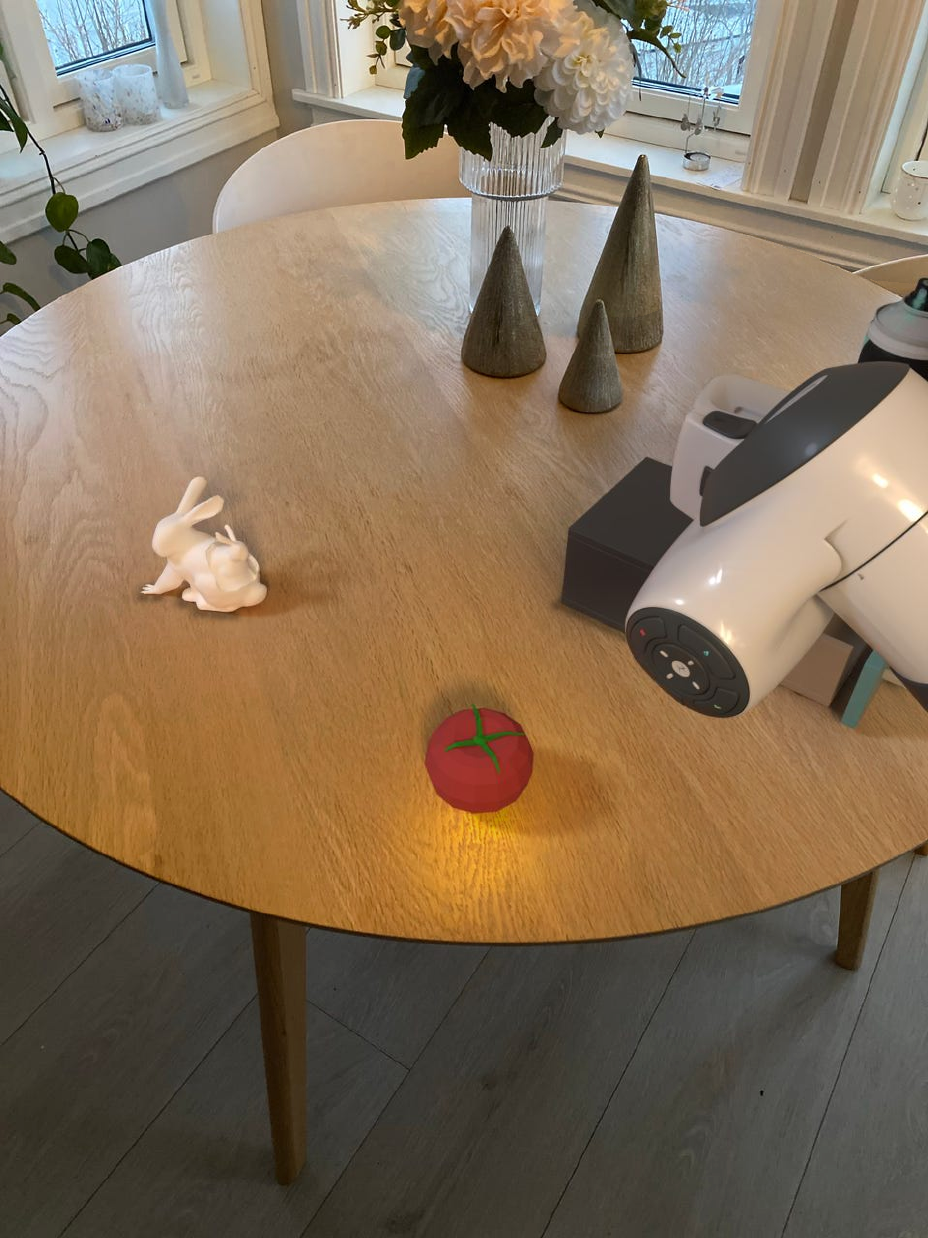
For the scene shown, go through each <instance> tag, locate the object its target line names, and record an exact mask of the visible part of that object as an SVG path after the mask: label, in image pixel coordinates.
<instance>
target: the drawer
mask: <svg viewBox="0 0 928 1238" xmlns="http://www.w3.org/2000/svg"><path fill="white" fill-rule="evenodd" d="M867 646H869V645H868V644H867V643H866V642H865V641H864V640H863V639H862V638H861V637H860V636H859V635H858V634H857V633H856V632H855V631H854V630H853V629H852V628H851V627H850V626H849V625H848V624H847V623H846V622H845V621H844V620H842V619H841V618H840V617H839V616H838V615H837V614H836V613H834V615H833V617H832V619H831V621H830V622H829V624H828V625H827V627H826V628H825V629H824V631H823V632H822V634H821V635H820V636H819V638H818V639H817V641H816V642H815V643H814V644H813V646H812V647H811V648H810V650H809V651H808V652H807V653H806V655H805V656H804V657H803V658H802V659H801V661H800V662H799V663H798V664H797V665H796V666H795V667H794V669H793V670H792V671H791V672H790V673H789V674H788V675H787V676H786V677H785V678H784V679H783V680H782V681H781V682H780V683H779V684H778V685H780V686H782V687H784V688H786V689H789V690H791V691H793V692H795V693H797V694H800V695H801V696H804V697H806V698H808V699H809V700H813V701H814V702H816V703H819V704H821V705H823V706H825V707H830V705H831V703H832V702H833V700H834V699H835V697H836V696H837V694H838V693H839V691H840V689H841V688H842V686H843V684H844V683H845V681H846V680H847V678H848V677H849V675H850V674H851V672H852V670H853V669H854V668H855V665H856V664H857V662H858V661H859V659H860V657H861V656H862V654H863V653H864V651H865V650H866V648H867ZM861 669H862V670H861V672H860V674H859V677H858V679H857V681H856V683H855V686H854V688H853V691H852V693H851V696H850V698H849V700H848V702H847V704H846V707H845V709H844V712H843V714H842V716H841V719H840V724H842V725H844V726H846V727H848V728H850V729H853V730H856V728H857V726H858V724H859V723H860V721H861V720H862V718H863V717H864V714H865V713H866V711H867V710H868V709H869V706H870V704H871V703H872V701H873V700H874V697H875V696H876V694H877V692H878V691H879V690H880V687H881V686H882V684H883V683H884V681H885V680H886V681H888V682H890V683H892V684H894V685H897V686H899V687H901V688H904V689H905V690H907V688H906V687H905V686H904V685H903V684H902V683H901V682H900V680H899V679H898V678H897V677H896V676H895V675H894V673H893V672H892V670H891V669H890V666H889V664H888V663H887V662H886V661H885V660H884V659H883V658H882V657H881V656H880V655H879V654H878V653H876V652H875V651H874V650H873V649H872V651H871V653H870V655H869V656H868V657H867V659H866V661H865V663H864V665H863V667H862V668H861Z"/></svg>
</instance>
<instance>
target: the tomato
mask: <svg viewBox="0 0 928 1238" xmlns="http://www.w3.org/2000/svg"><path fill="white" fill-rule="evenodd" d="M471 706H472V708H465V709H461V710H459V711H457V712H455V713H453V714H451V715H449V716H447V717H445V718H444V719H443V720H442V721H441V722H440V724H439V725H438V726H437V727H436V728H435V730H434V731H433V732H432V734H431V736H430V738H429V741H428V743H427V746H426V747H427V748H426V753H425V760H424V766H425V769H426V771H427V774H428V777H429V779H430V782H431V784H432V787H433V789H434V791H435V794H436V795H437V796H438V797H439V798H441V800H443V801H444V802H445V803H446V804H448V805H449V806H450V807H451V808H452V809H457V810H460V811H464V812H468V813H471V814H473V815H477V814H486V813H496V812H499V811H501V810H503V809H505V808H507V807H508V806H510V805H512V804H514V803H516V802H517V801H518V800H519V798H520V796H521V795H522V794H523V792H524V791H525V789H526V788H527V786H528V784H529V782H530V779H531V777H532V776H533V773H534V772H533V770H534V756H535V753H534V750H533V747H532V744H531V742H530V740H529V738H528V736H527V734H526V732H525V730H524V729H523V727H522V724H521V723H519V722H518V721H516V720H515V719H514V718H512V717H511V716H510V715H508V714H507V713H506V712H503V711H499V710H495V709H491V708H487V707H476V704H475V703H474V702H473V703H471Z"/></svg>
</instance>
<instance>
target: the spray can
mask: <svg viewBox="0 0 928 1238" xmlns="http://www.w3.org/2000/svg"><path fill="white" fill-rule="evenodd" d="M877 361H889V362H899V363H904V364H908V365H909V367H910V368H911V369H912V370H914V371H915V372H916V373H918V374H919V375H920V376H921V377H922V378H924V379H925V380H926V381H927V382H928V277H920V278H919V279H918V281H917V284H916V286H915V289H914V290H912V291H911V292H909V293H908V294H905V295H903V296H902V298H901V300H900V301H895V302H889V303H886V304H883V305H881V306H880V307H878V308H877V309H876V310H875V312H874V315H873V319H872V320H871V321H870V322H869V325H868V327H867V331H866V333H865V337H864V341H863V343H862V347H861V350H860V352H859V357H858V359H857V363H864V362H877Z"/></svg>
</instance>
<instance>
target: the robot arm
mask: <svg viewBox="0 0 928 1238" xmlns="http://www.w3.org/2000/svg"><path fill="white" fill-rule="evenodd" d="M676 442H677V443H676V445H675V451H674V455H673V459H672V460H673V461H672V465H671V466H672V474H671V485H670V501H671V502H672V504H673V505H674V506H675V507H677V508H678V509H679V510H681V511H682V512H683V513H685V514H686V515H688V516H689V517H691V518H692V519H693V520H694V521H693V522H692V523H691V524H690V525H689V526H688V527H687V528H686V529H685V530H684V531H683V533H682V534H681V535H680V536H679V537H678V538H677V539H676V541H675V542H674V543H673V544H672V545H671V546H670V548H669V549H668V550H667V552H666V553H665V554H664V555H663V557H662V558H661V559H660V561H659V562H658V563H657V565H656V566H655V568H654V569H653V570H652V572H651V573H650V575H649V576H648V578H647V580H646V581H645V583H644V584H643V586H642V587H641V589H640V590H639V592H638V594H637V596H636V598H635V599H634V601H633V603H632V605H631V607H630V609H629V611H628V614H627V617H626V621H625V633H626V634H625V633H624V634H625V639H626V642H627V645H628V648H629V651H630V652H631V654H632V656H633V658H634V660H635V661H636V663H637V664H638V665H639V667H640V668H641V669H642V670H643V671H644V672H645V673H646V674H647V675H648V677H650V679H652V681H654V683H655V684H656V685H658V687H659V688H660V689H661V690H662V691H664V692H665V693H666V694H667V695H668V696H669V697H671V698H672V699H673V700H674V701H675V702H676V703H678V704H680V706H682V707H686V708H687V709H690V710H691V711H693V712H695V713H697V714H701V715H703V716H707V717H710V718H711V717H712V718H716V719H734V718H738V717H742V716H743V715H745V714H747V713H748V712H750V711H751V710H752V709H754V708H755V707H757V706H758V705H759V704H760V703H761V702H762V701H763V700H764V699H765V698H766V697H767V696H769V695H770V694H771V693H772V692H773V691H774V690H775V689H776V688H777V687H778V686H779V685H780V684H779V683H780V682H781V681H782V680H783V679H784V678H785V677H786V676H787V675H788V674H789V673H790V672H791V671H792V670H793V669H794V667H795V666H796V665H797V664H798V663H799V662H800V661H801V659H802V658H803V657H804V656H805V655H806V653H807V652H808V651H809V650H810V648H811V647H812V646H813V644H814V643H815V642H816V641H817V639H818V638H819V636H820V635H821V634H822V632H823V631H824V629H825V628H826V627H827V625H828V624H829V622H830V621H831V619H832V617H833V615H834V613H836V614H837V615H838V616H839V617H840V618H841V619H842V620H844V621H845V622H846V623H847V624H848V625H849V626H850V627H851V628H852V629H853V630H854V631H855V632H856V633H857V634H858V635H859V636H860V637H861V638H862V639H863V640H864V641H865V642H866V643H867V644H868V645H867V646H868V647H870V648H871V649H872V651H873V650H874V651H875V652H876V653H878V654H879V655H880V656H881V657H882V658H883V659H884V660H885V661H886V662H887V663H888V664H889V666H890V671H892V672H893V673H894V675H895V676H896V677H897V678H898V679H899V680H900V682H901V683H902V684H903V685H904V686H905V687H906V688H907V689H906V690H907V691H908V692H909V693H910V695H912V697H913V699H915V700H916V701H917V703H918V704H919V705H920V706H921V707H922V708H923V709H924V711H925V712H926V713H927V714H928V382H927V381H926V380H925V379H924V378H922V377H921V376H920V375H919V374H918V373H916V372H915V371H914V370H912V369H911V368H910V367H909V365H908V364H904V363H899V362H889V361H877V362H864V363H847V364H842V365H837V366H832V367H826V368H824V369H822V370H820V371H818V372H816V373H814V374H813V375H812V376H810V377H809V378H807V379H806V380H804V381H803V382H802V383H800V384H799V385H798V386H797V387H796V388H794V389H793V390H791V391H790V390H787V389H784V388H781V387H777V386H775V385H772V384H769V383H767V382H766V383H765V382H763V381H760V380H757V379H754V378H752V377H751V378H750V377H749V376H745V375H742V374H738V373H726V374H719V375H716V376H715V377H714V378H712V379H711V380H710V381H709V382H708V383H707V384H706V385H705V386H704V387H703V388H702V390H700V392H699V393H698V395H697V396H696V397H695V399H694V401H693V404H692V408H691V410H689V412H688V413H687V414H686V415H685V417H684V420H683V422H682V425H681V428H680V431H679V434H678V437H677V441H676Z"/></svg>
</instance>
